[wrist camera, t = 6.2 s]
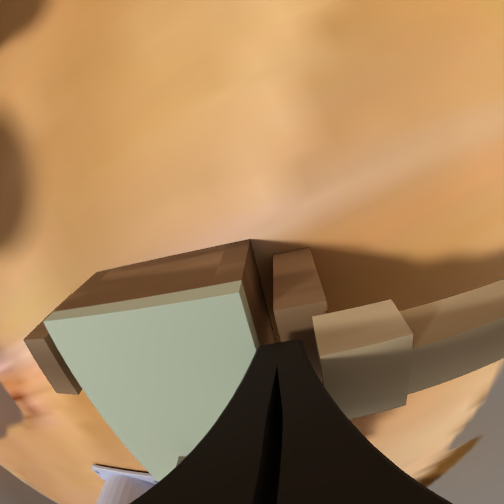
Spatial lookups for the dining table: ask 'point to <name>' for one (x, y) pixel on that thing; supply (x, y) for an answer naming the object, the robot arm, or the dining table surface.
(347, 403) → the key
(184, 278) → the toolbox
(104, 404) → the lid
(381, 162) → the dining table surface
